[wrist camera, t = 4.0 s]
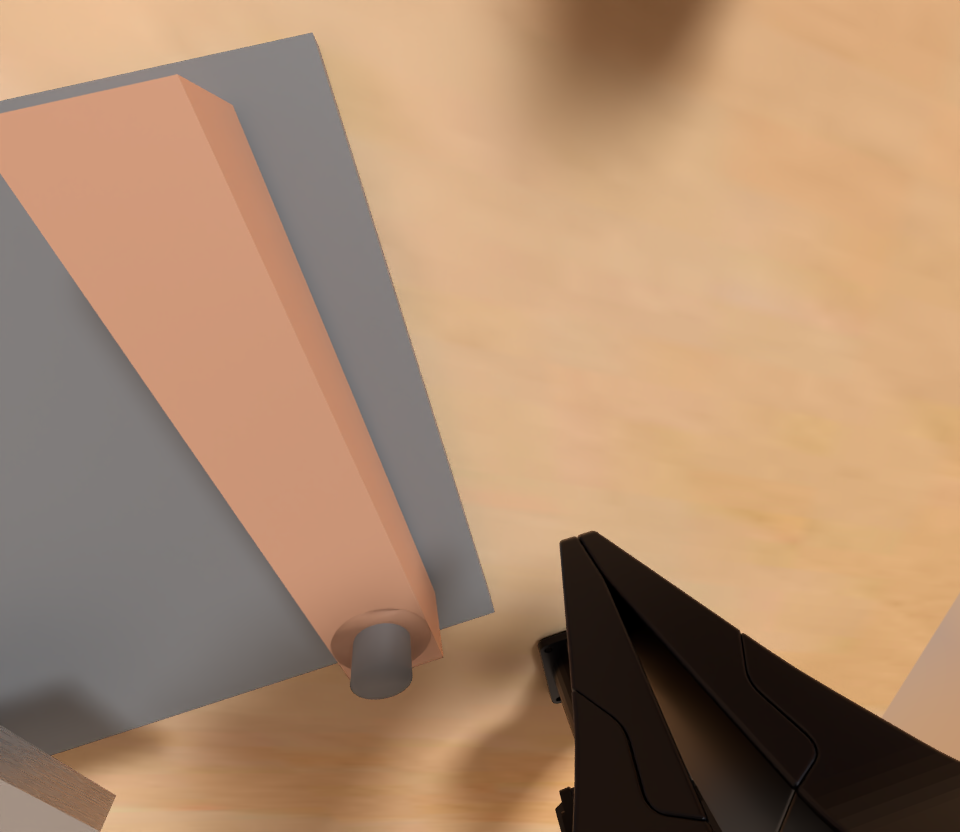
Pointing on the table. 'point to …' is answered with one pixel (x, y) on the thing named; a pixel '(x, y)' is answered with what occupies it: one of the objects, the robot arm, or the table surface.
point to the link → (230, 349)
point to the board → (170, 462)
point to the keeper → (46, 792)
